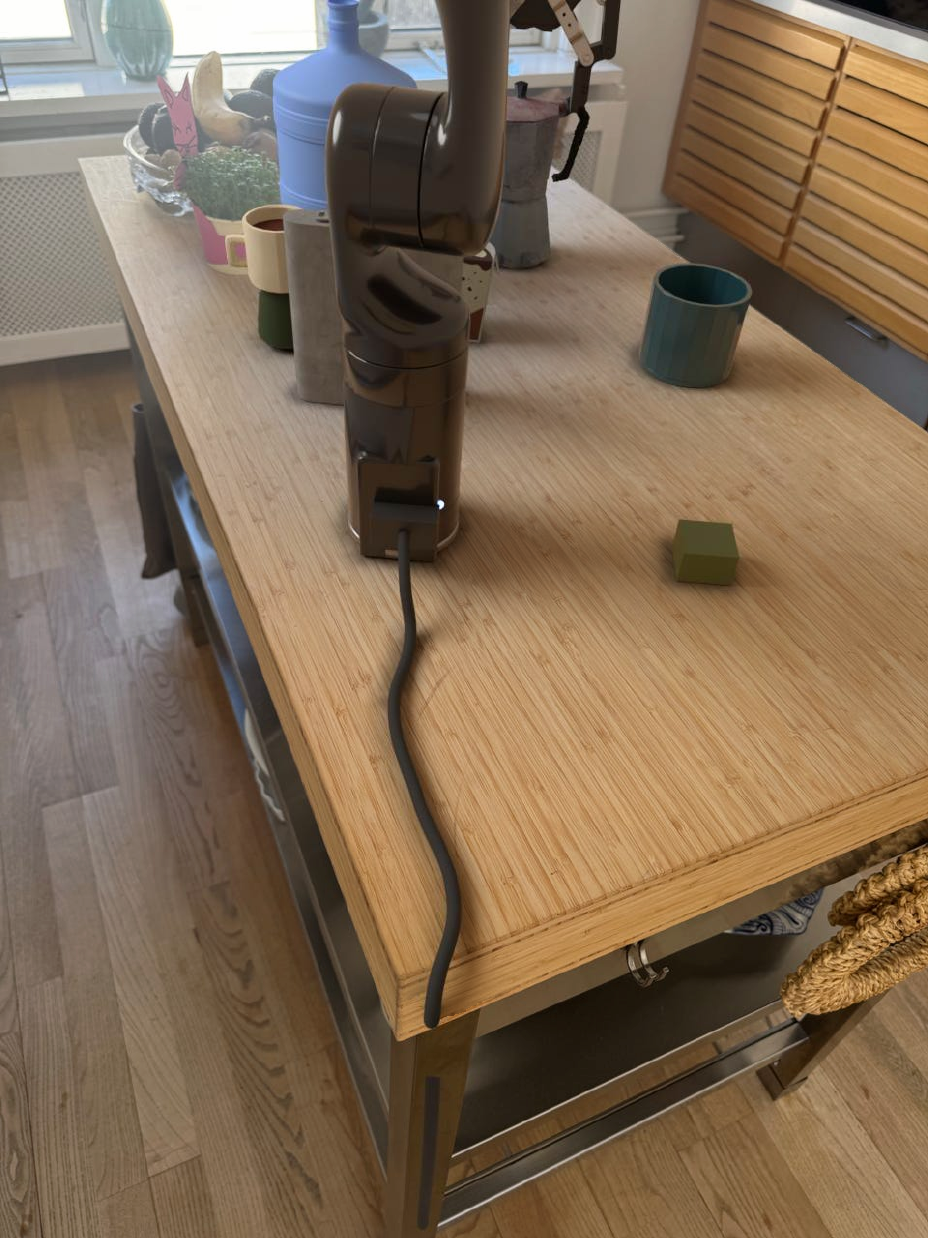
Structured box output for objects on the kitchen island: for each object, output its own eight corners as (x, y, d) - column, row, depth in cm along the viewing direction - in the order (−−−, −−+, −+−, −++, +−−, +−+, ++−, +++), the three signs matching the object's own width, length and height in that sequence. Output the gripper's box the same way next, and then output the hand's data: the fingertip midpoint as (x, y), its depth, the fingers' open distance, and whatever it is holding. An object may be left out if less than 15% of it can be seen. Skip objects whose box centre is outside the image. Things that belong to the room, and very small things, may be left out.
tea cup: (735, 391, 98) (759, 310, 92) (641, 383, 98) (657, 302, 92) (723, 345, 105) (744, 267, 99) (635, 337, 105) (650, 259, 99)
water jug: (436, 288, 111) (445, 16, 92) (310, 309, 106) (292, 23, 86) (387, 237, 121) (386, -19, 101) (269, 253, 116) (244, -14, 96)
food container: (497, 318, 107) (504, 230, 100) (493, 344, 102) (500, 254, 95) (390, 307, 107) (390, 219, 100) (382, 333, 103) (381, 243, 96)
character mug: (340, 324, 104) (335, 205, 95) (338, 356, 99) (332, 234, 90) (241, 322, 103) (226, 202, 94) (233, 355, 98) (217, 230, 89)
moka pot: (447, 246, 120) (454, 72, 106) (551, 232, 125) (571, 64, 111) (479, 277, 114) (490, 97, 100) (587, 261, 119) (612, 87, 105)
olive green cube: (730, 585, 76) (739, 557, 74) (676, 581, 76) (684, 553, 74) (723, 551, 79) (732, 523, 77) (671, 546, 79) (678, 518, 77)
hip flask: (455, 387, 95) (465, 184, 81) (457, 408, 93) (468, 202, 79) (298, 384, 94) (281, 178, 80) (295, 406, 91) (278, 196, 77)
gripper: (453, -126, 70) (444, 112, 81) (643, -111, 70) (607, 125, 81) (459, -136, 75) (449, 89, 86) (635, -121, 75) (603, 101, 86)
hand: (526, 106), depth 83 cm, fingers open, 8 cm apart
